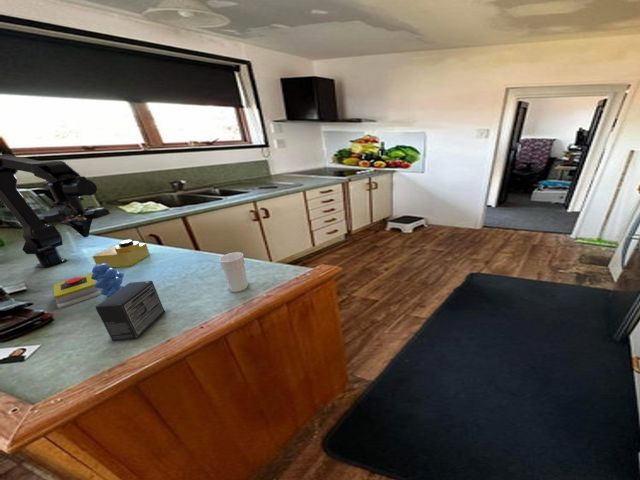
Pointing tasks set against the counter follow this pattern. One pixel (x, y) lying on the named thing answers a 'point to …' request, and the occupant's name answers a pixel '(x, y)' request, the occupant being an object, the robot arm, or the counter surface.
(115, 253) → the yellow angular block
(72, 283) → the emergency button
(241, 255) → the cup
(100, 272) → the grapes
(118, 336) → the small box
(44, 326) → the counter surface
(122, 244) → the press button
